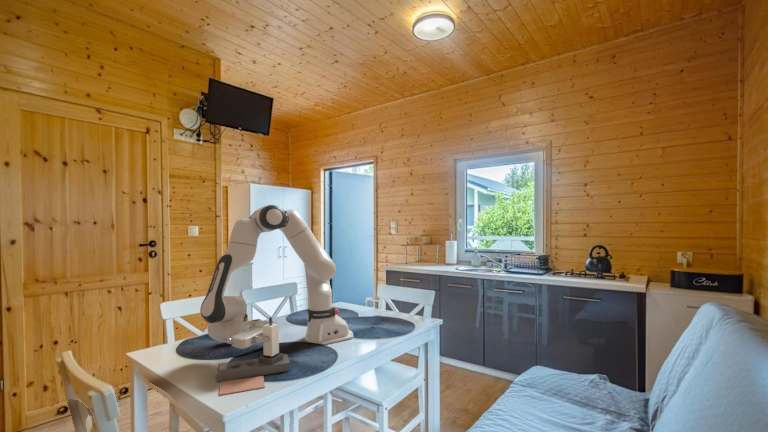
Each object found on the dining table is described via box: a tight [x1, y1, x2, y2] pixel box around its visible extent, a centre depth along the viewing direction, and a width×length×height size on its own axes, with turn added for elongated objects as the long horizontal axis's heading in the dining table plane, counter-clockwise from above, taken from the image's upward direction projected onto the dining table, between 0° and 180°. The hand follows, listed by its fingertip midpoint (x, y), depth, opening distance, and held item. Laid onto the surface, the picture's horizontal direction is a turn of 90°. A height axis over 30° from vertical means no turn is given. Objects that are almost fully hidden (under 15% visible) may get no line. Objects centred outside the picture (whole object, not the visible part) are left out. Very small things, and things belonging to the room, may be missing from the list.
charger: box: [262, 316, 280, 356], centre depth 138 cm, size 4×4×14 cm
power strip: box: [215, 352, 291, 383], centre depth 136 cm, size 25×9×5 cm, turn 111°
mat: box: [218, 375, 266, 397], centre depth 125 cm, size 14×9×1 cm, turn 111°
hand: (272, 336), depth 138 cm, fingers closed on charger, 4 cm apart
